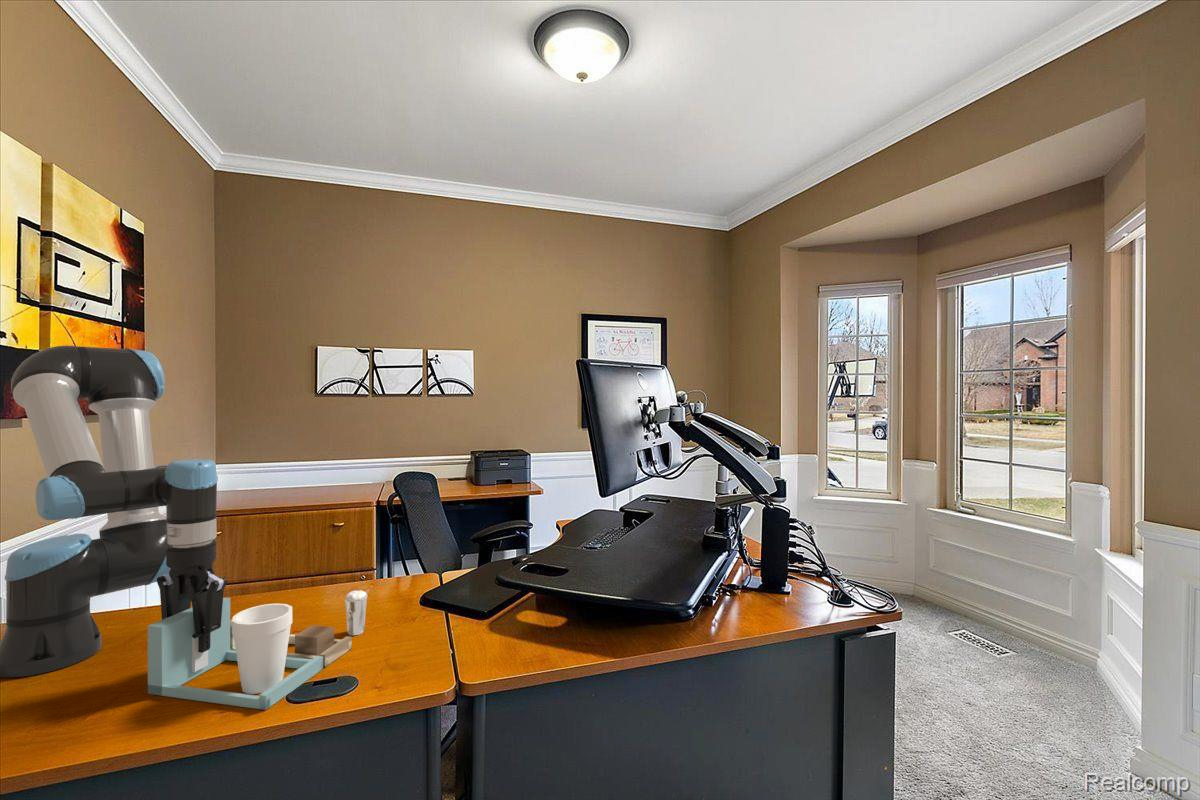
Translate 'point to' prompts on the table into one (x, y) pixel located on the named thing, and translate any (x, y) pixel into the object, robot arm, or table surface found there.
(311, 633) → the walnut block
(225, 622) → the teal frame with backboard
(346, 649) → the slat
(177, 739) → the table surface
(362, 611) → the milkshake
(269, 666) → the foam cup
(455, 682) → the table surface
